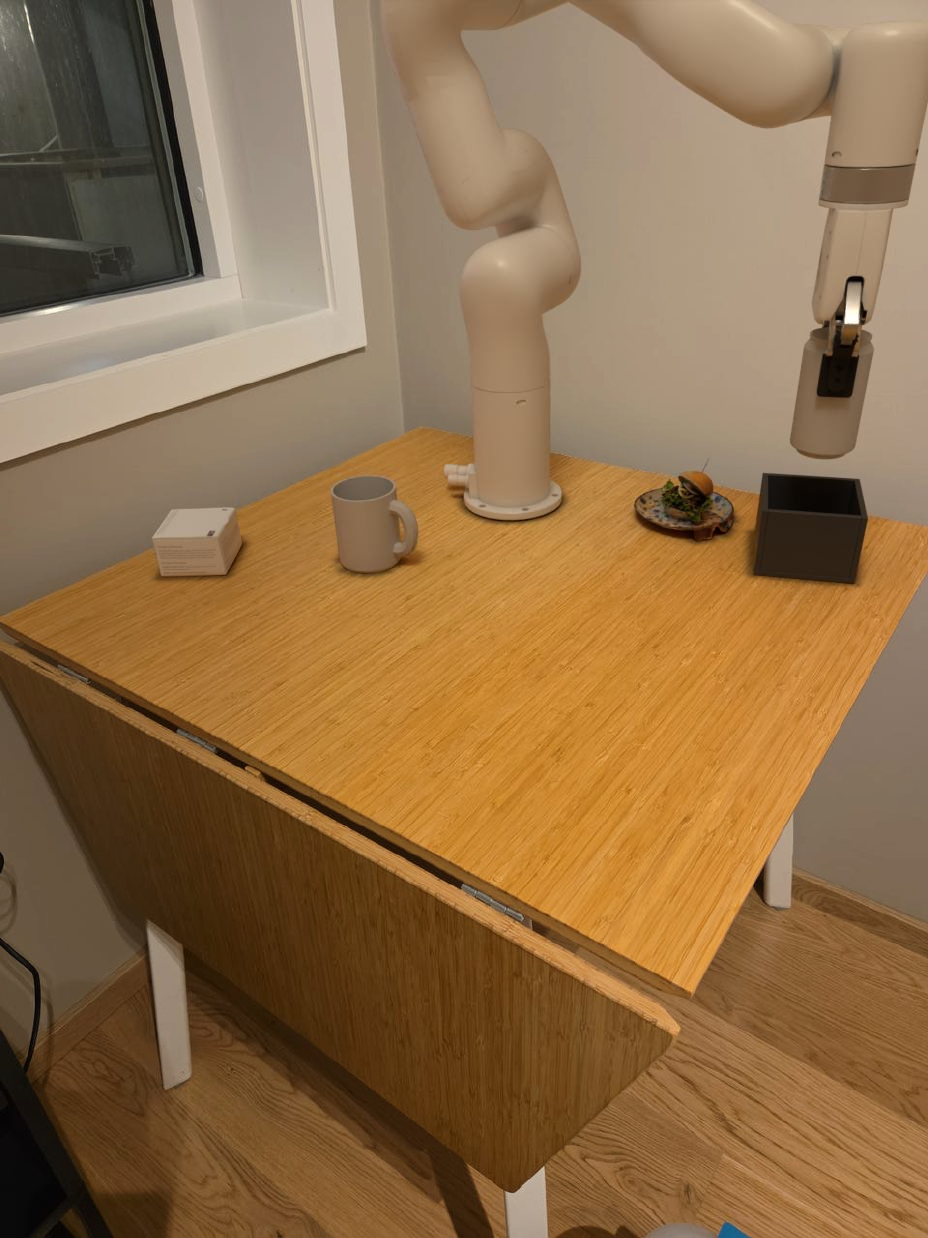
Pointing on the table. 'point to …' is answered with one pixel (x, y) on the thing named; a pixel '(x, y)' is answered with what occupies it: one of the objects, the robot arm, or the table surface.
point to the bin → (809, 527)
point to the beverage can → (828, 403)
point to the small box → (197, 542)
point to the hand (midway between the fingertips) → (831, 383)
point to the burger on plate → (687, 506)
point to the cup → (371, 524)
